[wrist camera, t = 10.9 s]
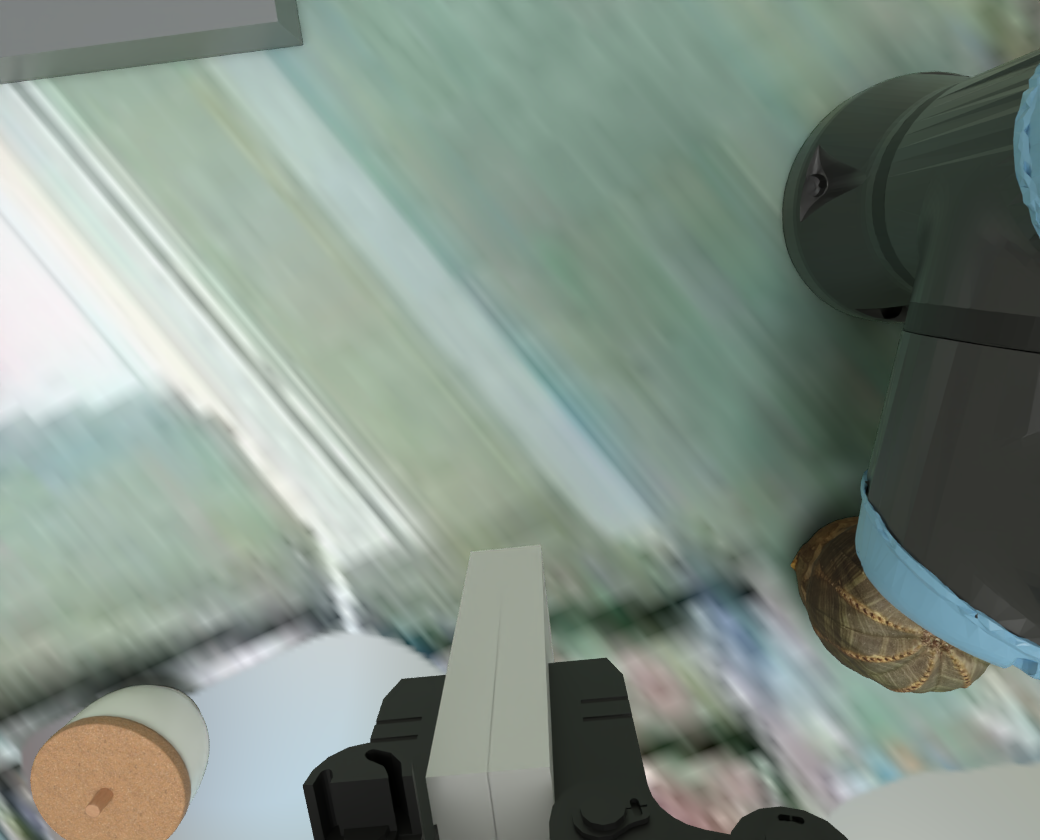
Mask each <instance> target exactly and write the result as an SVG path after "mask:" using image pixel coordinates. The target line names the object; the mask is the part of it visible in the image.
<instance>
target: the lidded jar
mask: <svg viewBox="0 0 1040 840" xmlns="http://www.w3.org/2000/svg"><path fill="white" fill-rule="evenodd" d="M208 757H209V735H208V730H207V726H206V723H205V721H204V719H203V717H202V715H201V713H200V710H199V708H198V707H197V705H196V704H195V703H194V701H193V700H192V699H191V698H190V697H189V696H187V695H186V694H184V693H183V692H181V691H179V690H177V689H174V688H171V687H166V686H156V685H137V686H131V687H126V688H122V689H120V690H117V691H114V692H112V693H109V694H107V695H105V696H103V697H102V698H100V699H98V700H97V701H95V702H93V703H92V704H90V705H89V706H87V707H86V708H85V709H83V710H82V711H81V712H80V713H78V714H77V715H76V716H75V717H74V718H73V719H71V720H70V721H69V722H68V723H67V724H66V725H65V726H64V727H63V728H61V729H60V730H59V731H58V732H56V733H55V734H54V735H53V736H52V737H51V738H50V739H49V740H48V741H47V742H46V743H45V744H44V745H43V747H42V748H41V749H40V750H39V752H38V754H37V756H36V757H35V760H34V763H33V766H32V771H31V780H30V781H31V791H32V795H33V799H34V802H35V804H36V806H37V808H38V810H39V812H40V814H41V815H42V817H43V818H44V820H45V821H46V822H47V823H48V824H49V825H50V827H51V828H52V829H53V830H55V831H56V832H57V833H58V834H59V835H60V836H61V837H63V838H65V839H66V840H166V839H168V838H169V837H170V835H172V834H173V832H174V831H175V830H176V829H177V827H178V825H179V824H180V822H181V821H182V819H183V817H184V816H185V814H186V811H187V809H188V806H189V805H190V803H191V801H192V800H193V798H194V796H195V794H196V792H197V790H198V788H199V786H200V783H201V781H202V778H203V776H204V773H205V770H206V766H207V762H208Z"/></svg>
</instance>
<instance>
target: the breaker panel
mask: <svg viewBox="0 0 1040 840" xmlns="http://www.w3.org/2000/svg"><path fill="white" fill-rule="evenodd" d="M299 45H303V41H302V35H301V29H300V23H299V17H298V11H297V5H296V0H0V84H4V83H12V82H20V81H27V80H35V79H43V78H51V77H58V76H66V75H74V74H82V73H89V72H97V71H105V70H113V69H120V68H128V67H136V66H144V65H151V64H159V63H167V62H175V61H182V60H190V59H198V58H206V57H213V56H221V55H229V54H237V53H244V52H252V51H260V50H268V49H275V48H283V47H291V46H299Z"/></svg>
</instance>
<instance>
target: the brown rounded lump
mask: <svg viewBox="0 0 1040 840" xmlns="http://www.w3.org/2000/svg"><path fill="white" fill-rule="evenodd" d="M858 519H859V516H857V517H849V518H844V519H840V520H836V521H834V522H832V523H829V524H827V525H826V526H824V527H823V528H821V529H819V530H818V531H817V532H816V533H815V535H814V536H813V537H812V538H811V539H810V540H809V541H808V542H807V543H806V544H804V545H803V546H802V547H801V549H800V550H799V552H798V553H797V555H796V557H795V558H794V560H793V562H792V563H791V567H792V568H793V569H794V570H795V572H796V575H797V581H798V588H799V593H800V597H801V599H802V602H803V604H804V606H805V607H806V609H807V611H808V615H809V619H810V621H811V624H812V627H813V629H814V631H815V633H816V634H817V636H818V637H819V638H820V640H821V642H822V643H823V645H824V646H825V648H826V649H827V650H828V651H829V652H830V653H831V654H832V655H833V656H834V657H836V658H837V659H838V660H839V661H840V662H841V663H842V664H843V665H845V666H846V667H848V668H850V669H852V670H853V671H855V672H857V673H859V674H861V675H862V676H864V677H867V678H870V679H872V680H874V681H876V682H877V683H879V684H881V685H883V686H884V687H886V688H887V689H890V690H892V691H895V692H903V693H904V692H913V693H925V692H930V691H932V692H946V691H952V690H954V689H958V688H967V687H968V686H969V685H971V684H972V683H973V682H974V681H975V680H977V679H978V678H979V677H980V676H981V675H982V674H983V673H984V672H985V670H986V668H987V667H988V666H989V664H991V663H988V662H986V661H984V660H981V659H979V658H977V657H974V656H972V655H970V654H968V653H966V652H964V651H962V650H960V649H958V648H956V647H954V646H952V645H951V644H949V643H947V642H945V641H944V640H942V639H940V638H938V637H937V636H935V635H933V634H932V633H930V632H929V631H927V630H926V629H924V628H922V627H921V626H919V625H918V624H916V623H915V622H914V621H912V620H911V619H909V618H908V617H907V616H905V615H904V614H903V613H901V612H900V611H899V610H898V609H896V608H895V607H894V606H893V605H892V604H891V603H890V602H889V601H887V600H886V599H885V598H884V597H883V596H882V595H881V594H880V592H879V591H878V590H877V589H876V588H875V587H874V585H873V584H872V583H871V582H870V580H869V579H868V577H867V576H866V574H865V572H864V570H863V566H862V565H861V561H860V559H859V557H858V555H857V553H856V545H855V536H856V530H857V525H858Z"/></svg>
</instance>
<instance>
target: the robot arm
mask: <svg viewBox="0 0 1040 840" xmlns="http://www.w3.org/2000/svg"><path fill="white" fill-rule="evenodd" d="M783 228H784V235H785V240H786V245H787V248H788V251H789V254H790V257H791V259H792V262H793V264H794V266H795V268H796V270H797V271H798V273H799V275H800V276H801V278H802V279H803V281H804V282H805V283H806V284H807V286H808V287H809V288H810V289H811V290H812V291H813V292H814V293H815V294H816V295H817V296H818V297H819V298H821V299H822V300H823V301H825V302H826V303H827V304H829V305H830V306H832V307H834V308H836V309H837V310H839V311H841V312H844V313H846V314H849V315H852V316H855V317H858V318H863V319H867V320H873V321H879V322H885V323H905V324H904V328H903V330H902V333H901V337H900V341H899V345H898V349H897V353H896V357H895V361H894V365H893V369H892V374H891V378H890V382H889V386H888V390H887V394H886V398H885V402H884V406H883V410H882V415H881V419H880V423H879V427H878V431H877V435H876V439H875V443H874V447H873V451H872V456H871V460H870V464H869V468H868V469H867V470H866V471H865V472H864V474H863V477H862V480H861V489H860V490H861V497H862V504H861V509H860V514H859V519H858V525H857V530H856V536H855V545H856V553H857V555H858V557H859V559H860V561H861V565H862V566H863V570H864V572H865V574H866V576H867V577H868V579H869V580H870V582H871V583H872V584H873V585H874V587H875V588H876V589H877V590H878V591H879V592H880V594H881V595H882V596H883V597H884V598H885V599H886V600H887V601H889V602H890V603H891V604H892V605H893V606H894V607H895V608H896V609H898V610H899V611H900V612H901V613H903V614H904V615H905V616H907V617H908V618H909V619H911V620H912V621H914V622H915V623H916V624H918V625H919V626H921V627H922V628H924V629H926V630H927V631H929V632H930V633H932V634H933V635H935V636H937V637H938V638H940V639H942V640H944V641H945V642H947V643H949V644H951V645H952V646H954V647H956V648H958V649H960V650H962V651H964V652H966V653H968V654H970V655H972V656H974V657H977V658H979V659H981V660H984V661H986V662H988V663H991V664H993V665H996V666H999V667H1002V668H1007V667H1010V666H1011V665H1014V666H1016V667H1017V668H1019V669H1021V670H1022V671H1023V672H1025V673H1026V674H1028V675H1029V676H1031V677H1032V678H1035V679H1039V680H1040V49H1038V50H1036V51H1034V52H1031V53H1029V54H1026V55H1024V56H1022V57H1019V58H1017V59H1014V60H1012V61H1010V62H1007V63H1005V64H1003V65H1000V66H998V67H995V68H993V69H991V70H988V71H986V72H984V73H981V74H979V75H976V76H974V77H968V76H963V75H959V74H954V73H948V72H919V73H913V74H907V75H903V76H899V77H895V78H892V79H889V80H886V81H884V82H881V83H879V84H877V85H875V86H873V87H871V88H869V89H867V90H865V91H863V92H861V93H859V94H857V95H855V96H853V97H851V98H850V99H848V100H846V101H845V102H844V103H842V104H841V105H839V106H838V107H837V108H835V109H834V110H833V111H832V112H831V113H830V114H829V115H827V116H826V117H825V118H824V119H823V120H822V121H821V122H820V123H819V125H818V126H817V127H816V128H815V129H814V130H813V132H812V133H811V134H810V136H809V137H808V138H807V140H806V141H805V143H804V145H803V146H802V148H801V150H800V152H799V153H798V155H797V157H796V159H795V162H794V164H793V166H792V169H791V172H790V174H789V178H788V181H787V185H786V189H785V195H784V202H783ZM376 722H377V723H376V725H375V726H374V729H373V732H372V735H371V739H370V743H366V744H361V745H357V746H352V747H349V748H346V749H344V750H342V751H340V752H338V753H336V754H334V755H332V756H330V757H328V758H327V759H326V760H325V761H323V762H322V763H321V764H320V765H319V766H317V767H316V768H315V769H314V770H313V771H312V772H311V774H310V775H309V777H308V778H307V780H306V781H305V783H304V784H303V789H304V794H305V799H306V804H307V808H308V813H309V818H310V822H311V827H312V832H313V836H314V840H848V839H847V838H846V837H845V836H844V835H843V834H842V833H840V832H839V831H838V830H837V829H835V828H834V827H833V826H832V825H831V824H830V823H829V822H828V821H826V820H824V819H821V818H819V817H817V816H815V815H813V814H811V813H808V812H806V811H804V810H798V809H792V808H787V807H781V806H780V807H772V808H763V809H758V810H756V811H754V812H752V813H750V814H748V815H746V816H744V817H742V818H741V819H740V821H739V822H738V823H737V825H736V826H735V828H734V829H733V830H732V832H731V835H730V834H724V833H719V832H714V831H709V830H704V829H701V828H697V827H694V826H690V825H687V824H685V823H683V822H681V821H679V820H677V819H675V818H674V817H672V816H671V815H670V814H668V813H667V812H666V811H665V810H663V809H662V808H661V807H660V806H659V805H658V803H657V802H656V801H655V799H654V798H653V797H652V795H651V792H650V790H649V787H648V785H647V780H646V776H645V771H644V767H643V762H642V758H641V753H640V749H639V744H638V740H637V735H636V731H635V726H634V722H633V718H632V713H631V709H630V704H629V700H628V695H627V691H626V686H625V682H624V677H623V674H622V673H621V672H620V671H619V670H618V669H617V668H616V667H615V666H614V665H613V664H612V663H611V662H610V661H609V660H608V659H607V658H599V659H589V660H578V661H567V662H556V663H554V655H553V646H552V637H551V628H550V620H549V611H548V602H547V593H546V584H545V575H544V567H543V558H542V549H541V545H531V546H521V547H511V548H501V549H491V550H481V551H471V553H470V558H469V563H468V568H467V573H466V578H465V583H464V588H463V593H462V598H461V603H460V608H459V613H458V618H457V623H456V628H455V633H454V638H453V643H452V648H451V653H450V658H449V663H448V668H447V673H446V675H440V676H429V677H418V678H407V679H401V680H400V682H399V683H398V684H397V685H396V686H395V687H394V688H393V689H392V690H391V691H390V692H389V693H388V695H387V696H386V697H385V698H384V699H383V702H382V705H381V708H380V711H379V714H378V718H377V721H376Z"/></svg>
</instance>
